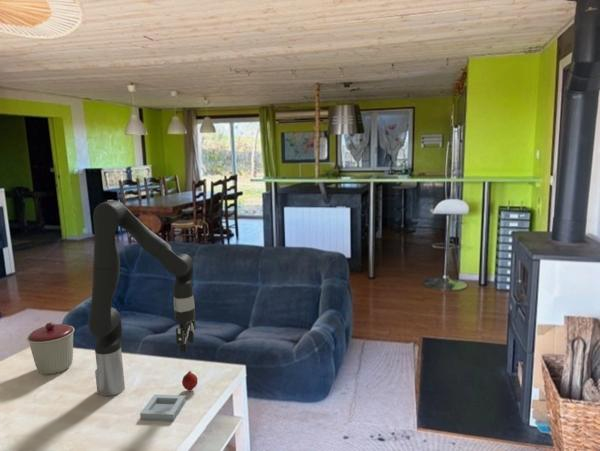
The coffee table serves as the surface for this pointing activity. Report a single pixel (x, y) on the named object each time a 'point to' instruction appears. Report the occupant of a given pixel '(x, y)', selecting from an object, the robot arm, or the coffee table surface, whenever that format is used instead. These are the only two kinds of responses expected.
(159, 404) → the base plate
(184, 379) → the onion
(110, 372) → the robot arm
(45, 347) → the canister
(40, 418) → the coffee table surface
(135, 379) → the coffee table surface
